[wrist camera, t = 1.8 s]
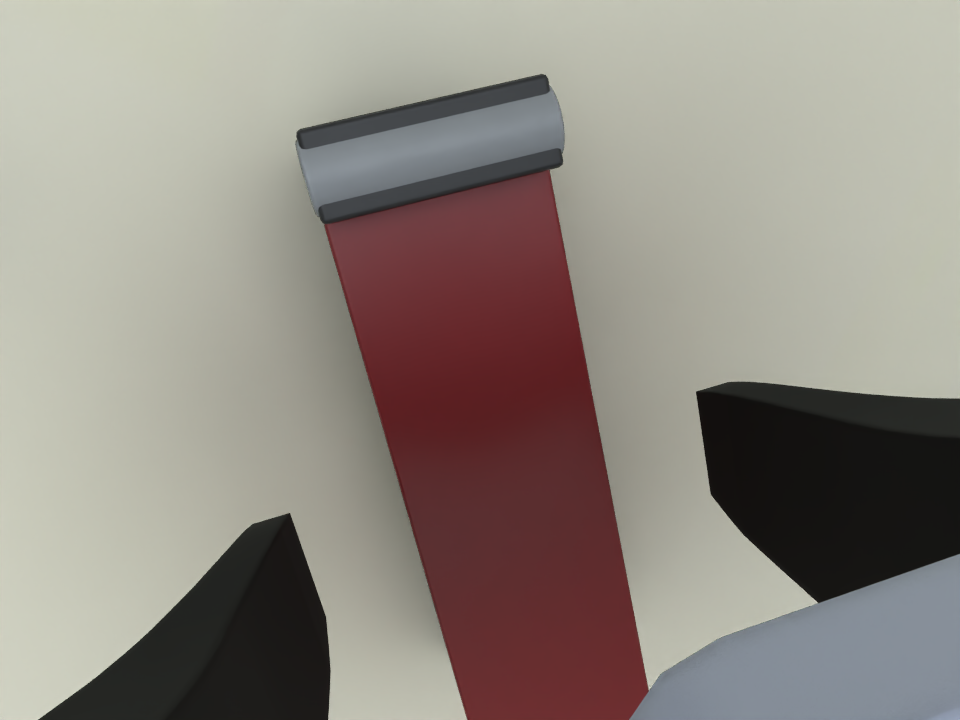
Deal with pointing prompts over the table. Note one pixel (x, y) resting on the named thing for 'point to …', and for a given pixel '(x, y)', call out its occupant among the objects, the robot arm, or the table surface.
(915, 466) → the robot arm
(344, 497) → the table surface
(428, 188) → the red two-tone bar
